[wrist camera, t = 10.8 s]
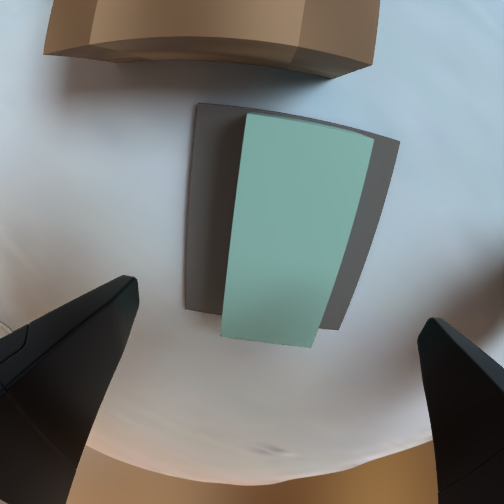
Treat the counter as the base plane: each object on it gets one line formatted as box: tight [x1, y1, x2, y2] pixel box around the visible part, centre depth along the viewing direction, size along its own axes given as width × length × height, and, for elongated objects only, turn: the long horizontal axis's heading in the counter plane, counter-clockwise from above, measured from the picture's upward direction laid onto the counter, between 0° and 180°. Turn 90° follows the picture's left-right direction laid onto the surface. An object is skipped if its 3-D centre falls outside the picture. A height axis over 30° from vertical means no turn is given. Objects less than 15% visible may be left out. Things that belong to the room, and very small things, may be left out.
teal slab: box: [220, 112, 374, 348], centre depth 13 cm, size 4×10×2 cm, turn 172°
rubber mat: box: [185, 103, 400, 330], centre depth 14 cm, size 9×11×1 cm
